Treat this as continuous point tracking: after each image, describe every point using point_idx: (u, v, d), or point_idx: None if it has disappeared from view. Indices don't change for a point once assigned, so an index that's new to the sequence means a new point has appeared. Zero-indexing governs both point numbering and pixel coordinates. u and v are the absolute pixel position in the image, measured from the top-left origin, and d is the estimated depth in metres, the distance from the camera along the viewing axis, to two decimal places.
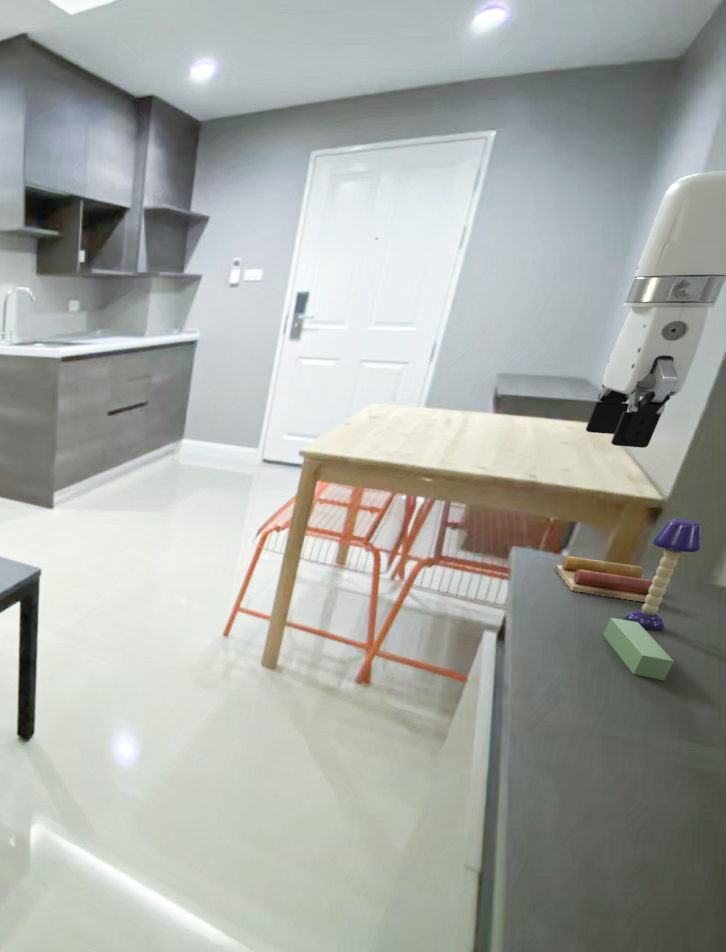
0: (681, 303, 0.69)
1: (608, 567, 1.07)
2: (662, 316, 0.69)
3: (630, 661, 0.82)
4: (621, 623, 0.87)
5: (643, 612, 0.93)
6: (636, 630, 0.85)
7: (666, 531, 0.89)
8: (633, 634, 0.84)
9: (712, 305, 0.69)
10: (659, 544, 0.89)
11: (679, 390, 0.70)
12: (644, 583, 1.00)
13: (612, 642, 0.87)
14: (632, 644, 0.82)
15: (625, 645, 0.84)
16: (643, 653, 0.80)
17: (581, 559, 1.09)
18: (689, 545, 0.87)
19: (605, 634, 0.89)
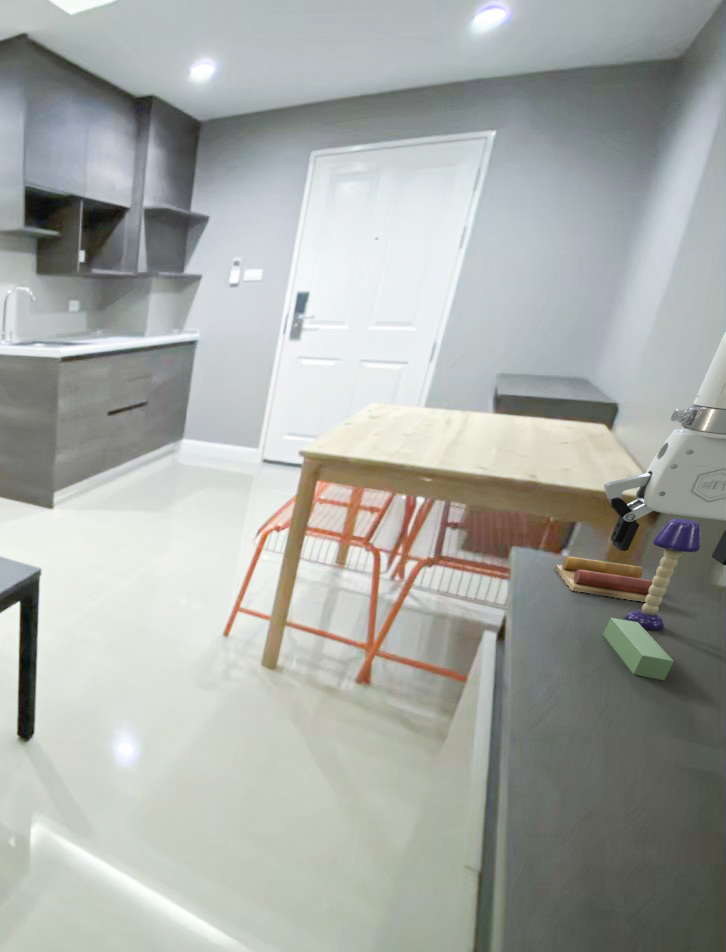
0: (685, 428, 0.75)
1: (608, 567, 1.07)
2: (668, 437, 0.77)
3: (630, 661, 0.82)
4: (621, 623, 0.87)
5: (643, 612, 0.93)
6: (636, 630, 0.85)
7: (666, 531, 0.89)
8: (633, 634, 0.84)
9: (714, 436, 0.72)
10: (659, 544, 0.89)
11: (648, 504, 0.77)
12: (644, 583, 1.00)
13: (612, 642, 0.87)
14: (632, 644, 0.82)
15: (625, 645, 0.84)
16: (643, 653, 0.80)
17: (581, 559, 1.09)
18: (689, 545, 0.87)
19: (605, 634, 0.89)
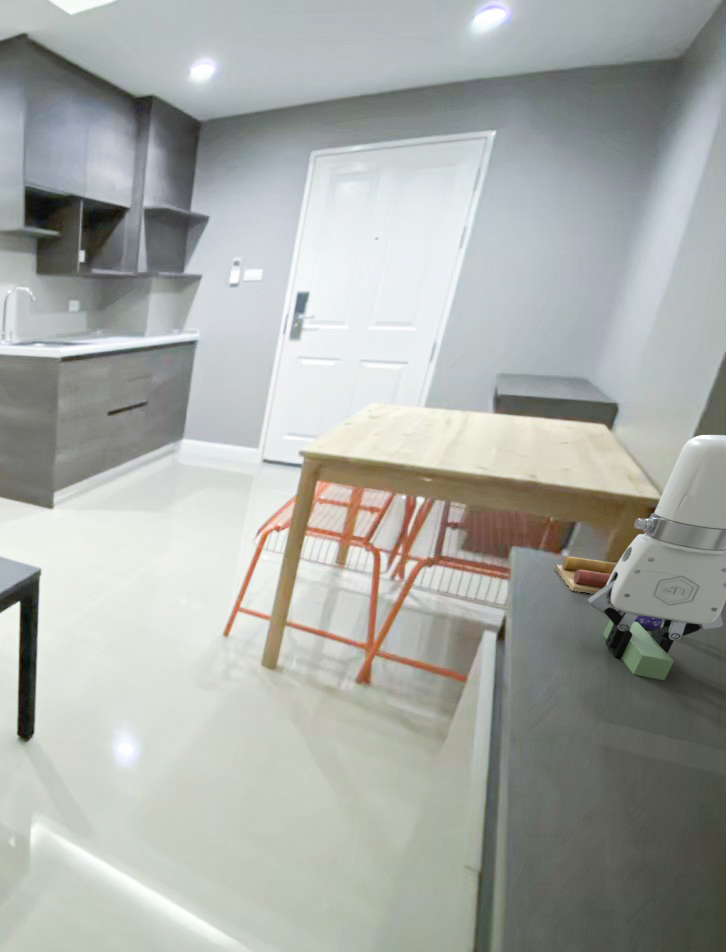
0: (647, 535, 0.80)
1: (608, 567, 1.07)
2: (632, 541, 0.82)
3: (630, 661, 0.82)
4: None
5: None
6: (636, 630, 0.85)
7: None
8: (633, 634, 0.84)
9: (673, 546, 0.77)
10: None
11: (614, 604, 0.82)
12: None
13: None
14: (632, 644, 0.82)
15: None
16: (643, 653, 0.80)
17: (581, 559, 1.09)
18: None
19: (605, 634, 0.89)
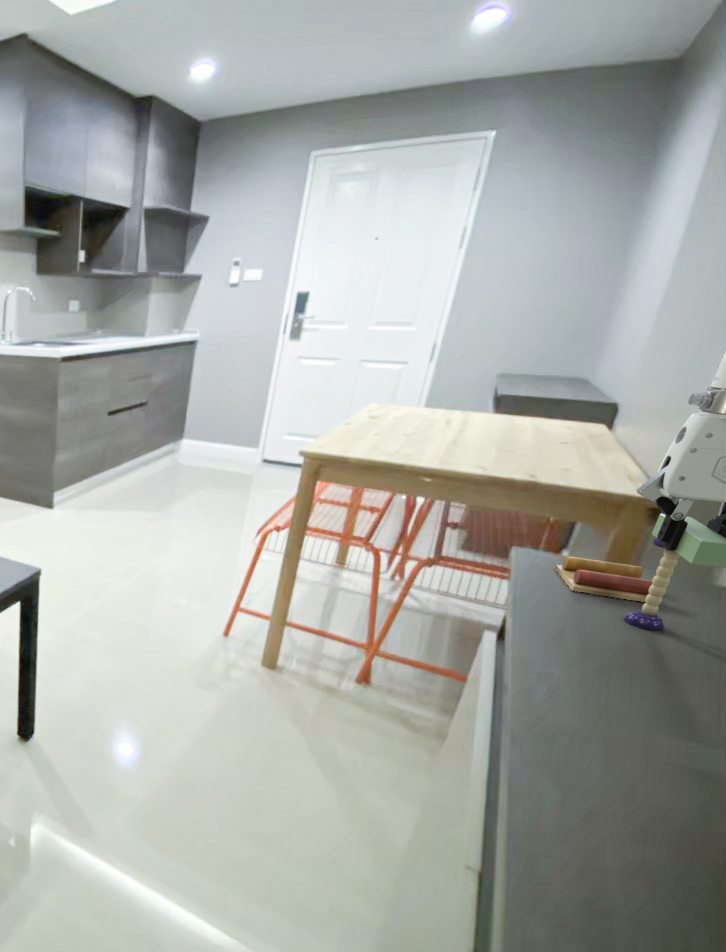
0: (703, 412, 0.74)
1: (608, 567, 1.07)
2: (686, 421, 0.76)
3: (686, 551, 0.76)
4: None
5: (643, 612, 0.93)
6: (690, 523, 0.79)
7: None
8: (687, 526, 0.78)
9: None
10: (659, 544, 0.89)
11: (668, 490, 0.76)
12: (644, 583, 1.00)
13: None
14: (688, 533, 0.76)
15: None
16: (702, 539, 0.74)
17: (581, 559, 1.09)
18: None
19: (655, 532, 0.83)
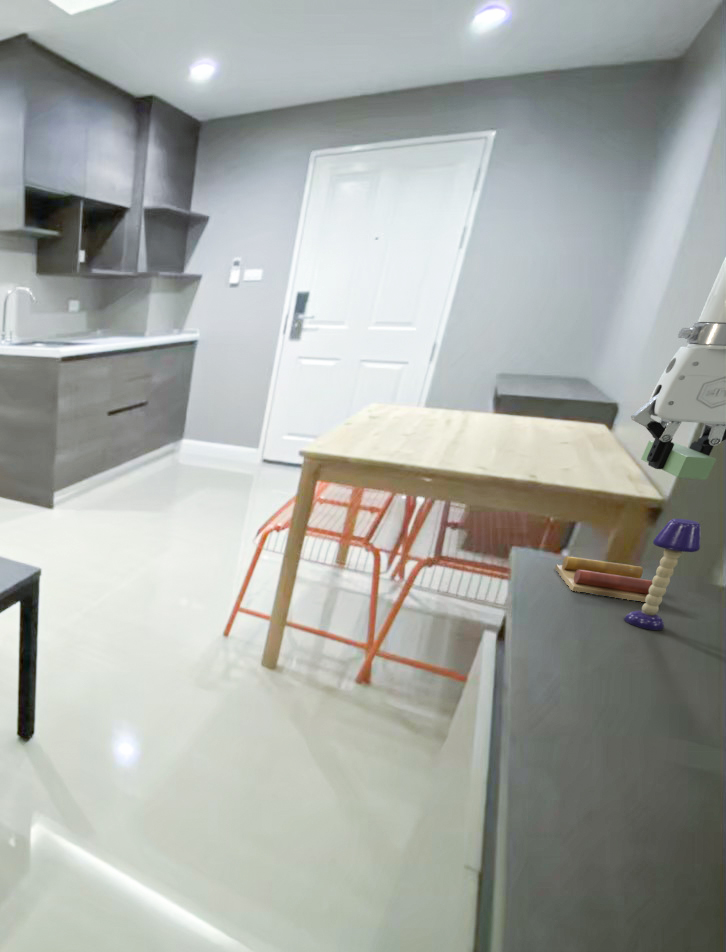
0: (690, 344, 0.85)
1: (608, 567, 1.07)
2: None
3: (672, 467, 0.87)
4: None
5: (643, 612, 0.93)
6: (675, 446, 0.90)
7: (666, 531, 0.89)
8: (673, 447, 0.89)
9: (717, 347, 0.81)
10: (659, 544, 0.89)
11: (659, 413, 0.87)
12: (644, 583, 1.00)
13: None
14: (675, 452, 0.87)
15: None
16: (687, 455, 0.85)
17: (581, 559, 1.09)
18: (689, 545, 0.87)
19: (644, 457, 0.94)
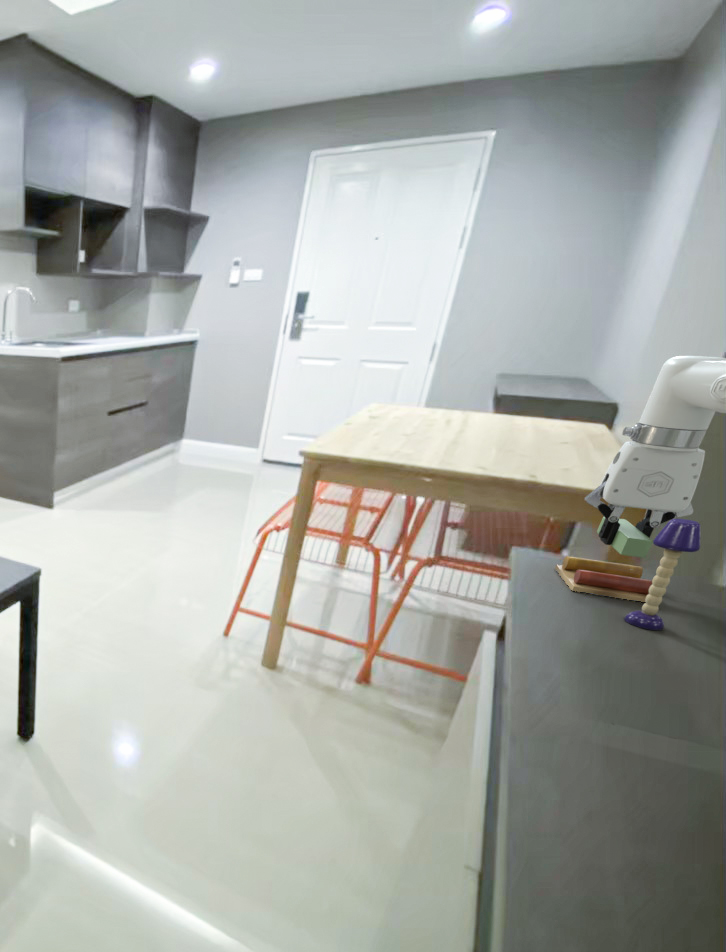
0: (632, 441, 0.98)
1: (608, 567, 1.07)
2: (621, 447, 1.00)
3: (618, 545, 1.01)
4: None
5: (643, 612, 0.93)
6: (624, 524, 1.04)
7: (666, 531, 0.89)
8: (621, 526, 1.03)
9: (653, 447, 0.95)
10: (659, 544, 0.89)
11: (606, 499, 1.00)
12: (644, 583, 1.00)
13: None
14: (620, 532, 1.01)
15: None
16: (628, 536, 0.99)
17: (581, 559, 1.09)
18: (689, 545, 0.87)
19: (598, 530, 1.08)
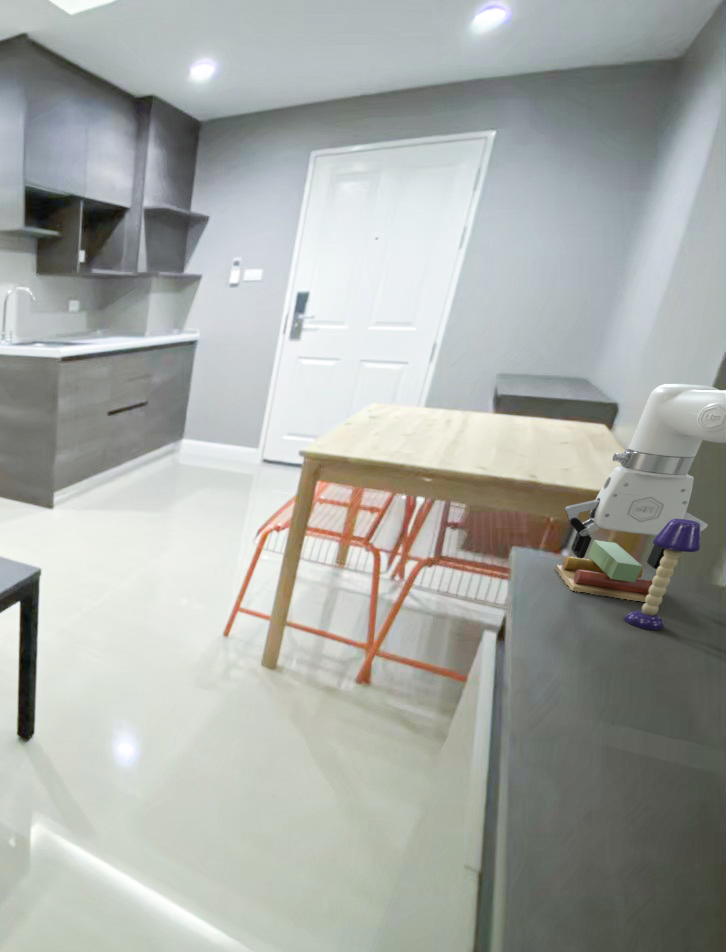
0: (622, 466, 1.00)
1: None
2: None
3: (608, 569, 1.02)
4: (602, 543, 1.08)
5: (643, 612, 0.93)
6: (614, 547, 1.06)
7: (666, 531, 0.89)
8: (611, 550, 1.05)
9: (642, 473, 0.97)
10: (659, 544, 0.89)
11: (597, 523, 1.02)
12: (644, 583, 1.00)
13: (595, 558, 1.07)
14: (610, 556, 1.02)
15: (605, 558, 1.04)
16: (618, 561, 1.00)
17: (581, 559, 1.09)
18: (689, 545, 0.87)
19: (589, 553, 1.10)
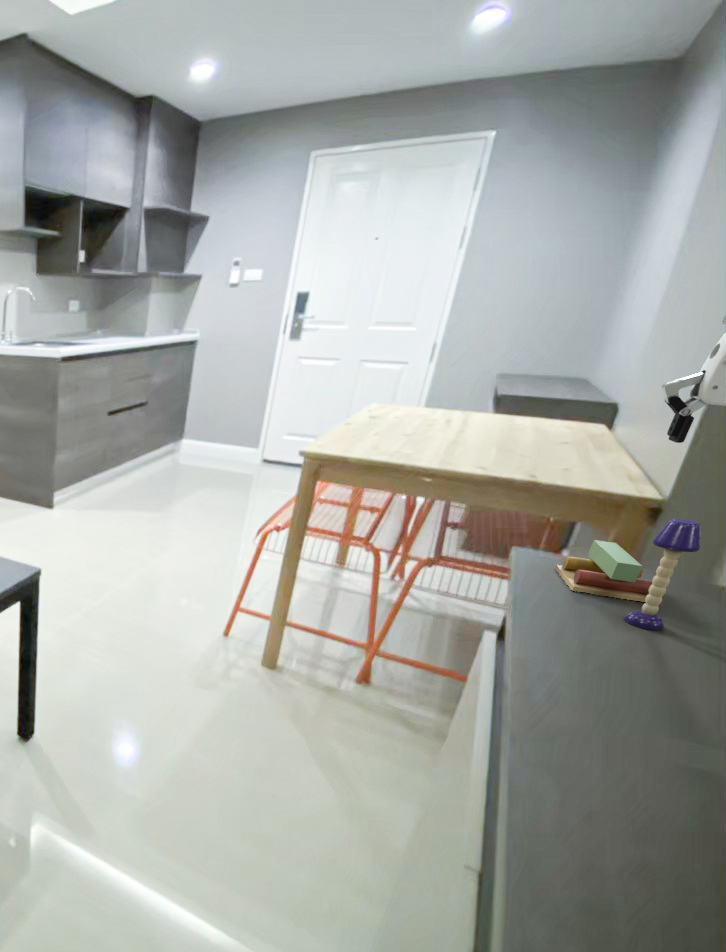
0: None
1: None
2: None
3: (608, 569, 1.02)
4: (602, 543, 1.08)
5: (643, 612, 0.93)
6: (614, 547, 1.06)
7: (666, 531, 0.89)
8: (611, 550, 1.05)
9: None
10: (659, 544, 0.89)
11: (703, 398, 0.89)
12: (644, 583, 1.00)
13: (595, 558, 1.07)
14: (610, 556, 1.02)
15: (605, 558, 1.04)
16: (618, 561, 1.00)
17: (581, 559, 1.09)
18: (689, 545, 0.87)
19: (589, 553, 1.10)
